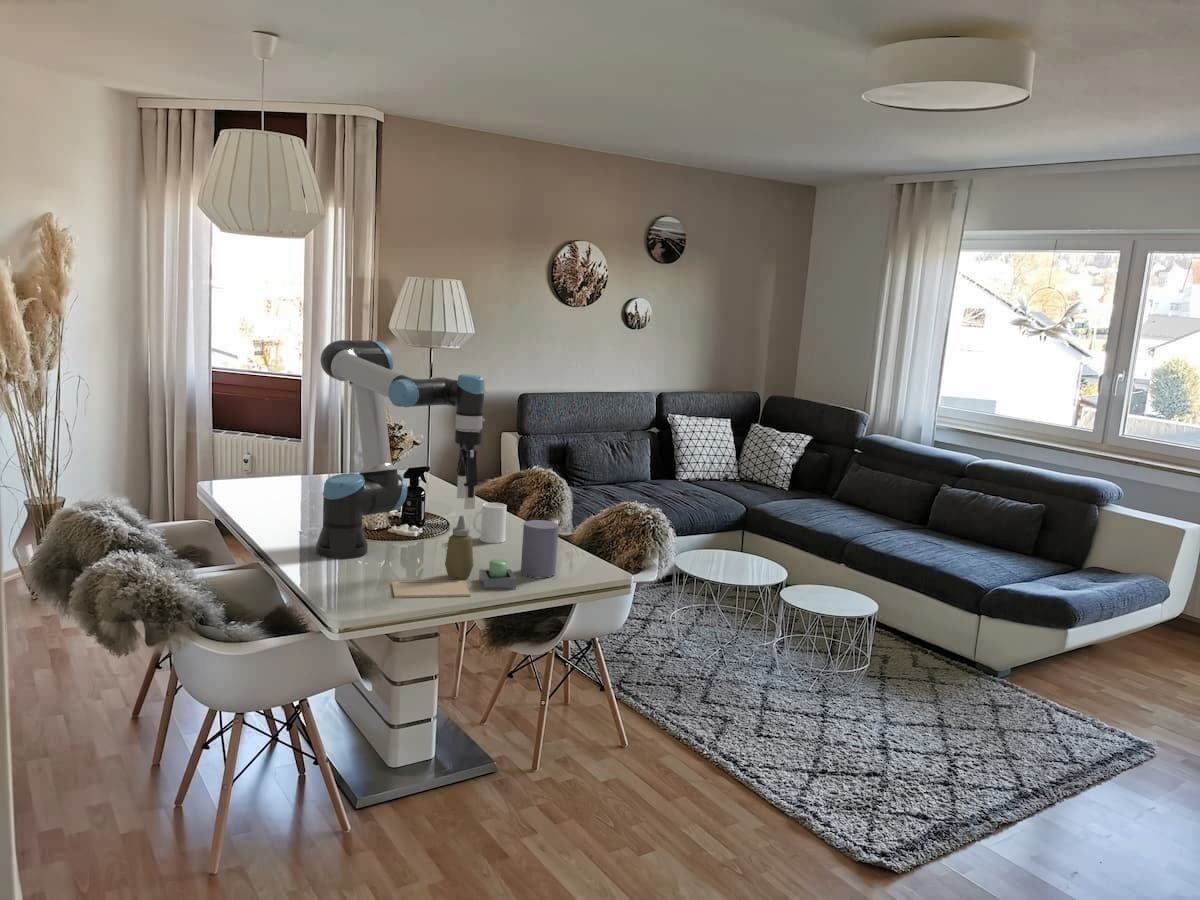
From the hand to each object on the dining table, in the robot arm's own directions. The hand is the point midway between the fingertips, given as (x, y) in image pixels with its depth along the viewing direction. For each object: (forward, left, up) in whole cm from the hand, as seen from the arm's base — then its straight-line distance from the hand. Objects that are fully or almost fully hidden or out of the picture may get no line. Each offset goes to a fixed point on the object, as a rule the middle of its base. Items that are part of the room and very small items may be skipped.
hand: (465, 503), depth 260 cm
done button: (+9, -9, -20) cm, 24 cm away
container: (+23, +1, -22) cm, 31 cm away
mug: (+14, +38, -21) cm, 45 cm away
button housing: (+9, -9, -21) cm, 25 cm away
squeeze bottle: (-1, -2, -21) cm, 22 cm away
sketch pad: (-10, -13, -21) cm, 27 cm away
